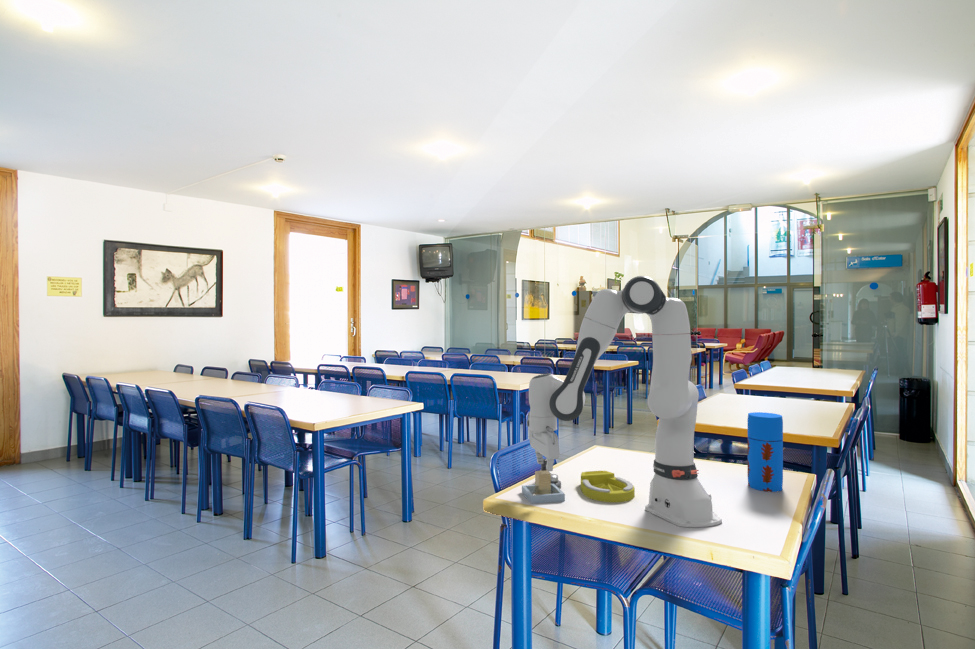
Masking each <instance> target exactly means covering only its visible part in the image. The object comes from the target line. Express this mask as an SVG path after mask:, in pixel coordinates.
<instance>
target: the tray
mask: <svg viewBox="0 0 975 649" xmlns="http://www.w3.org/2000/svg"><path fill="white" fill-rule="evenodd" d="M521 493H522V495H523V496H524V497H525V498H526V499H527V501H529V503H531V504H543V503H559V502H565V501H566V494H565V492H563V491H562V490H561V489H559V488H558V487H557V486H556V485H555V484H551V494H542V495H535V484H529V485H528V484H524V485H521ZM533 493H534V494H533Z"/></svg>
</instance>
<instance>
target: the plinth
mask: <svg viewBox="0 0 975 649" xmlns="http://www.w3.org/2000/svg"><path fill="white" fill-rule="evenodd" d="M551 484H555V485H556V486H557V487H558V488H559V489H560V490H561V489H562V482H561V480H559V479H558V483H551Z"/></svg>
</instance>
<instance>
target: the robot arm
mask: <svg viewBox="0 0 975 649" xmlns="http://www.w3.org/2000/svg"><path fill="white" fill-rule="evenodd" d="M686 305H687V304H685V302H684V301H683V300H681V299H680V298H676V297H667V296H666V295H665V293H664V291H663V290H662V288H661V287H660V285H659V284H658V283H657V281H656V280H654V279H653V278H651V277H649V276H645V275H638V276H635V277H631V279H630V280H628V281H627V283H626V284H625V285H624V287H623V289H621V290H614V289H611V288H604V289H600V290H598V291H597V293H595V295H594V296H593V298H592V299H591V301H590V304H589V305H588V308H587V310H586V312H585V314H584V317H583V318H582V322H581V325H580V327H579V332H578V335H577V336H578V337H577V343H576V349H575V354H574V357H573V359H572V361H571V364H570V367H569V369H568V371H567V374H566V376H565V379H564V380H563V379H560V378H558V377H557V376H555V375H554V374H553V373H550V372H549V373H544V374H543V373H541V374H538V375H535V376H533V377H532V378H531V379H530V380H529V385H528V403H529V408H530V409H529V413H528V414H529V417H528V419H527V420H526V426H527V427H528V438H529V444H530V447H531V448H533V449H534V450H535V456H536V463H537V465H541V464H543V463H544V462H543V459H544V458H543V456H544V457H545V459H546V460H547V465H546V470H547V471H549V472H553V471H554V463H555V460H558V459H559V458H560V443H559V437H558V435H557V433H555V432H554V431H557V430H558V420H560V421H564V422H571V421H573V420H576V419H577V418H578V417H580V416H581V414H582V412H583V408H584V406H585V403H586V400H587V399H586V397H587V396H586V394H585V391H584V390H585V387H586V385H587V382H588V380H589V378H590V376H591V373H592V370H593V368H594V366H595V364H596V363H597V361H598V360H599V359H600V357H601V356H603V354H604V353H605V352H606V350H608V348H609V347H610V345H611V344H612V342H613V339H614V338H615V336H616V333H617V332H618V330H619V327H620V324H621V321H622V320H623V318H624V316H625V315H626V314H628V313H629V314H638V315H639V314H646V315H647V316H648V317H649V319H650V322H651V336H652V369H651V370H652V371H651V378H650V386H649V391H648V395H647V407H648V409H649V410H650V412H651V414H653V415H654V416H655V417H657V418H658V423H657V426H656V427H657V428H656V431H655V435H654V452H655V453H654V454H655V455H654V457H655V458H654V460H653V466H652V467H653V473H654V476H653V478H652V479H651V481H650V483H649V495H648V504H646V505H644V507H645V509H644V510H645V511H647V512H648V513H651V514H653V515H655V516H657V517H659V518H661V519H663V520H665V521H668V522H669V523H671V524H674V525H675V526H677V527H682V528H705V527H706V528H707V527H713V526H718V525H720V524H722V523H723V521H722V520H723V519H722V518H721V517H720V516H718V514H716V513H715V512H714V511H713V503H712V502H713V500H712V494H711V493H709V492H707V491H706V489H705V488H704V487H703V484H701V482H700V481H699V479H698V474H699V469H697V466H696V463H695V462H694V460H695V459H694V458H695V457H694V456H695V455H694V454H695V452H694V451H695V450H694V448H695V447H694V446H695V445H694V441H695V440H694V439H695V430H696V429H695V428H696V424H697V422H696V421H697V416H698V415H697V413H698V405H699V404H698V403H699V397H700V392H699V390H698V387H697V386H696V384H694V383H693V382H692V381H690V380H689V378H690V370H691V364H692V360H693V359H692V358H693V357H692V338H691V324H690V317H689V314H688V309H687V306H686Z"/></svg>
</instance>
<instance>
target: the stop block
mask: <svg viewBox="0 0 975 649" xmlns="http://www.w3.org/2000/svg"><path fill="white" fill-rule="evenodd" d="M549 472H550V471H549ZM549 472H548V471H547V470H545V471H540V470H535V472H534V485H535V493H534V495H542V494H552V492H551V474H552V473H551V472H550V473H551V474H550V473H549Z"/></svg>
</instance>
